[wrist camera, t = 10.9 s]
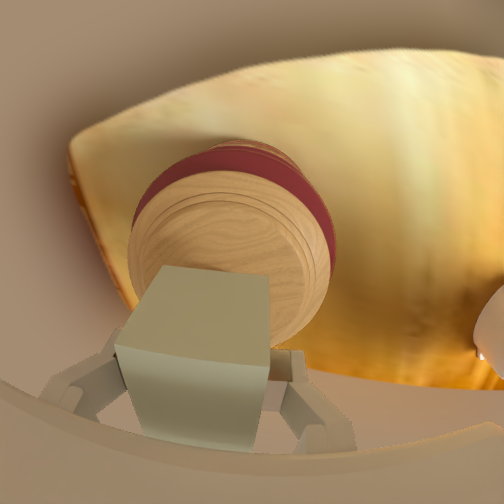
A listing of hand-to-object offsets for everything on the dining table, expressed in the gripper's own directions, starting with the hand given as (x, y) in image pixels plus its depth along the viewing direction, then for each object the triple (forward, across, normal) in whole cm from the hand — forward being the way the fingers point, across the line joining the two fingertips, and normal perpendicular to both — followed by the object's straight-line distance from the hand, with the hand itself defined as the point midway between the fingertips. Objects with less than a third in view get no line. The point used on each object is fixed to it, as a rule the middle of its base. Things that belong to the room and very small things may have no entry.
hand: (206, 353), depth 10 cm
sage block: (+2, 0, 0) cm, 2 cm away
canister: (+20, 0, 0) cm, 20 cm away
